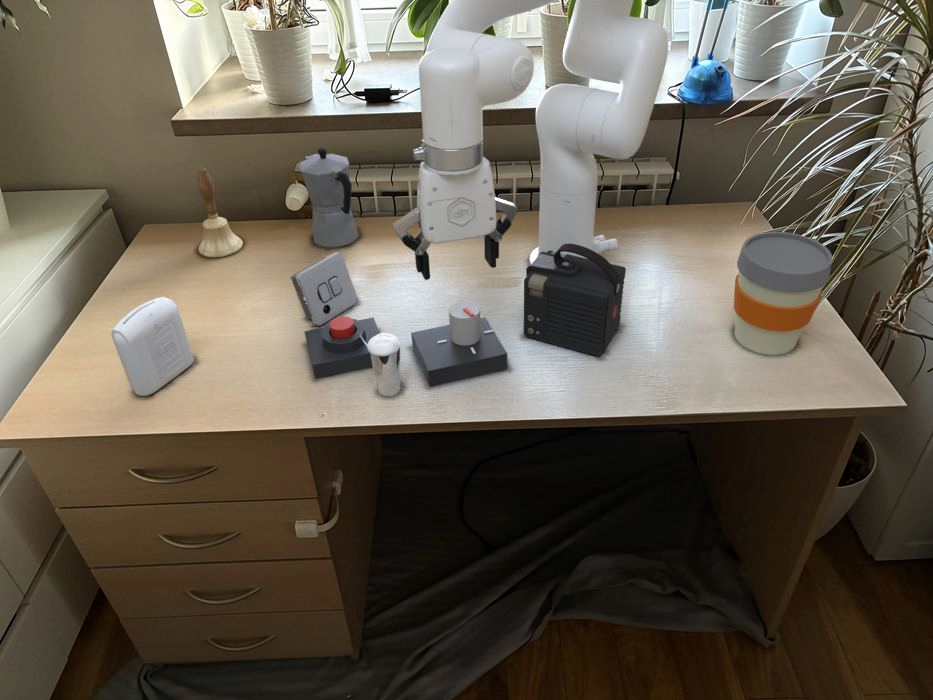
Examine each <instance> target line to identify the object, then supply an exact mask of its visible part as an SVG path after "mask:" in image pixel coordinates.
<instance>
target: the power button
mask: <svg viewBox="0 0 933 700" xmlns="http://www.w3.org/2000/svg"><path fill="white" fill-rule="evenodd" d="M353 319H354V318H352V317H350V316H346V315H341V316H335V317H334V318H332V319H330V322H329V323H330V324H329V325H330V331H331V335H332V337H334V338H337V339H344V338H349V337H351V336H352V335H354V333H355V327H354V321H353Z"/></svg>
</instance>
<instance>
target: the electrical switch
mask: <svg viewBox="0 0 933 700" xmlns="http://www.w3.org/2000/svg"><path fill="white" fill-rule="evenodd" d="M290 280H291V283H292V285H293V287H294V290H295V292H296V295H297V298H298V300H299V302H300V305H301V307H302V310H303V314H304V315H305V317H306V319H309V320H312V323H313V325H314V326H317V327H318V326H322V325H323V326H324V324H325V323H326V324H327V322H329V321H331V320H333V319H334V318H336V317H338V315H340V314H342V313H343V312H345V311H346V310H348V309H350V308H352V306H354V305H355V304H357V302H358V296H357V293H356V290H355V286H354V285H353V284H354V283H353V281H352V279H351V276H350V273H349V271H348V267H347V265H346V261H345V259H344V256H343V254H342V253H339V252H334V253H332V254H330V255H328V256H324V257H322V258H320V259H319V260H317V261H315V262H313V263H312V264H310V265H308V266H306V267H304V268H302V269H301V270H299V271H298V272H295V273H294V274H292V275H291V276H290Z"/></svg>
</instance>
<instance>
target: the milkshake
mask: <svg viewBox="0 0 933 700" xmlns="http://www.w3.org/2000/svg"><path fill="white" fill-rule="evenodd" d="M360 337H361V339H362V340H363V342H364V343H365V344H366V346H367V348H368V352H369V356H370V359H371V363H372V367H371V368H372V370H373V375H374V379H375V380H374V381H375V384H376V388H377V391H378V393H379V395H381V396H384V397H393V396H395V395H397V394H399V393H400V390H401V387H402V385H401V382H402V381H401V380H402V379H401V342H400V339H399V338H398V337H396V336H395V335H394V334H392V333H389V332H388V333H387V332H380V333H379V334H378V335H376V336H374V337H372V338H371V339H370V340H369V342H368V345H367V343H366V342H365V341H364V339H363V338H362V336H361V335H360Z"/></svg>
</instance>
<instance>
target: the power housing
mask: <svg viewBox="0 0 933 700" xmlns="http://www.w3.org/2000/svg"><path fill="white" fill-rule="evenodd" d="M352 319H353V321H354V327H355V333H354V335H352V336H351V337H349V338H344V339H337V338H334V337H332V335H331V331H330V325H329V324H330V322H328V323H326V324H325V325H323V327H319V328H314V329H309V330H304V337H305V341H306V346H307V350H308V354H309V358H310V363H311V367H312V371H313V375H314V379H315V380H318V379H322V378H327V377H333V376H336V375H337V376H338V375H342V374H345V373H349V372H350V373H351V372H354V371H360V370H363V369H368V368H373V367H372V363H371V359H370V356H369V352H368V348H367V346H366V344H365V343H364V342H363V340H362V339H361V337H360V335H361V336H362V338H363V339H364V341H365V342H366V343H367V345H368V342H369V340H370V339H371V338H372V337H374V336H376V335H378V334H379V333H381V332H380V330H379V327H378V325H377V322H376V319H375V317H369V318H363V319H359V320H358V319H356V318H352Z"/></svg>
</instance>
